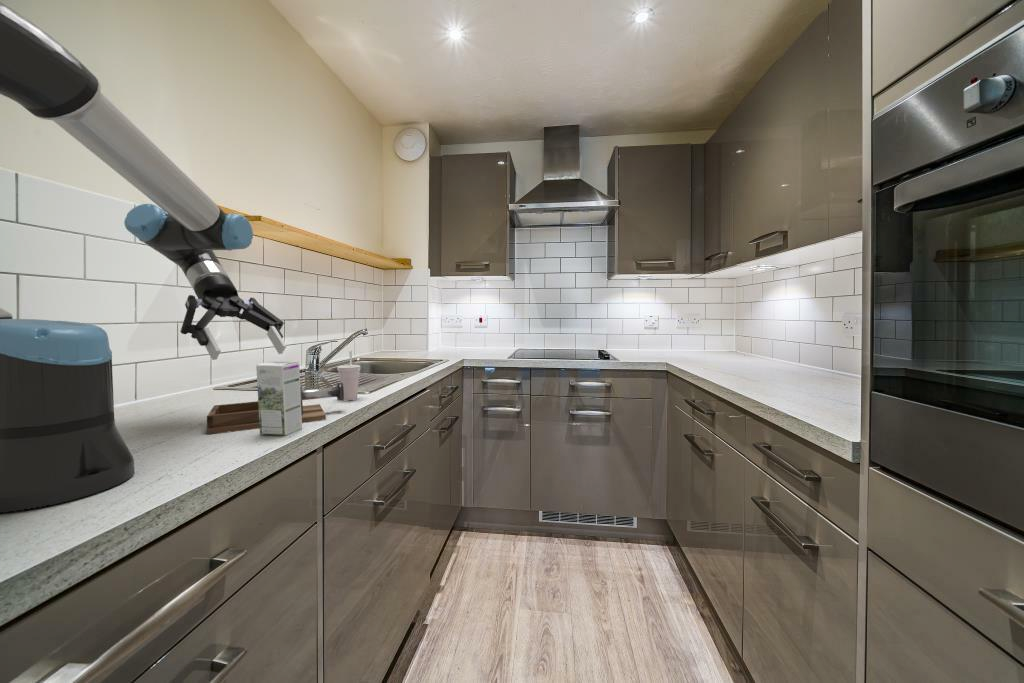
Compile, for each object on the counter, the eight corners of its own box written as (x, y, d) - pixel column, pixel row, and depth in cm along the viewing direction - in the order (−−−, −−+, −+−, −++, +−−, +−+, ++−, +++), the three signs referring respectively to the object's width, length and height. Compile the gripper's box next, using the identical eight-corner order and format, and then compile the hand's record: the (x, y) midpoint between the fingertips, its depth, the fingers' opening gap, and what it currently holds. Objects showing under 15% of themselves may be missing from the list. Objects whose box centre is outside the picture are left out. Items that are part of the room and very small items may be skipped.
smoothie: (357, 401, 111) (355, 352, 110) (334, 402, 111) (332, 352, 110) (365, 397, 117) (363, 350, 117) (343, 397, 117) (341, 350, 117)
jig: (325, 419, 92) (324, 386, 91) (207, 434, 81) (205, 397, 80) (319, 407, 104) (318, 378, 103) (215, 419, 92) (213, 386, 92)
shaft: (344, 401, 98) (343, 383, 98) (282, 408, 91) (281, 389, 91) (341, 398, 102) (341, 381, 102) (282, 404, 95) (281, 386, 95)
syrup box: (303, 428, 85) (300, 360, 84) (284, 436, 79) (281, 364, 78) (278, 427, 85) (275, 360, 84) (258, 435, 79) (254, 363, 79)
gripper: (262, 299, 105) (299, 358, 99) (139, 295, 83) (177, 370, 77) (272, 278, 102) (312, 337, 96) (148, 268, 80) (188, 344, 74)
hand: (252, 352), depth 86 cm, fingers open, 13 cm apart
